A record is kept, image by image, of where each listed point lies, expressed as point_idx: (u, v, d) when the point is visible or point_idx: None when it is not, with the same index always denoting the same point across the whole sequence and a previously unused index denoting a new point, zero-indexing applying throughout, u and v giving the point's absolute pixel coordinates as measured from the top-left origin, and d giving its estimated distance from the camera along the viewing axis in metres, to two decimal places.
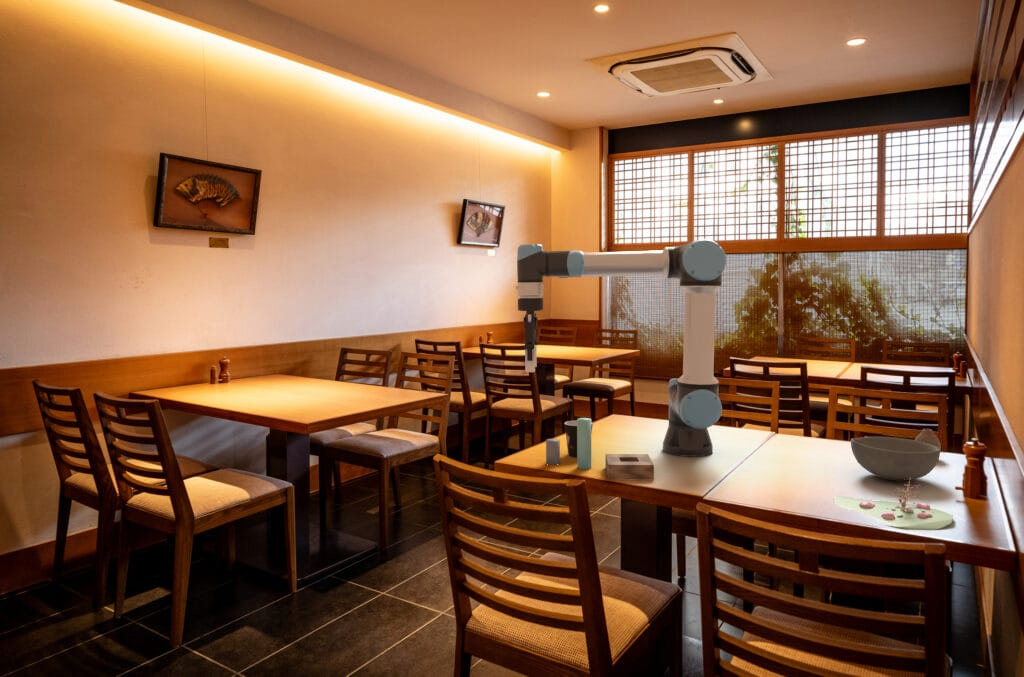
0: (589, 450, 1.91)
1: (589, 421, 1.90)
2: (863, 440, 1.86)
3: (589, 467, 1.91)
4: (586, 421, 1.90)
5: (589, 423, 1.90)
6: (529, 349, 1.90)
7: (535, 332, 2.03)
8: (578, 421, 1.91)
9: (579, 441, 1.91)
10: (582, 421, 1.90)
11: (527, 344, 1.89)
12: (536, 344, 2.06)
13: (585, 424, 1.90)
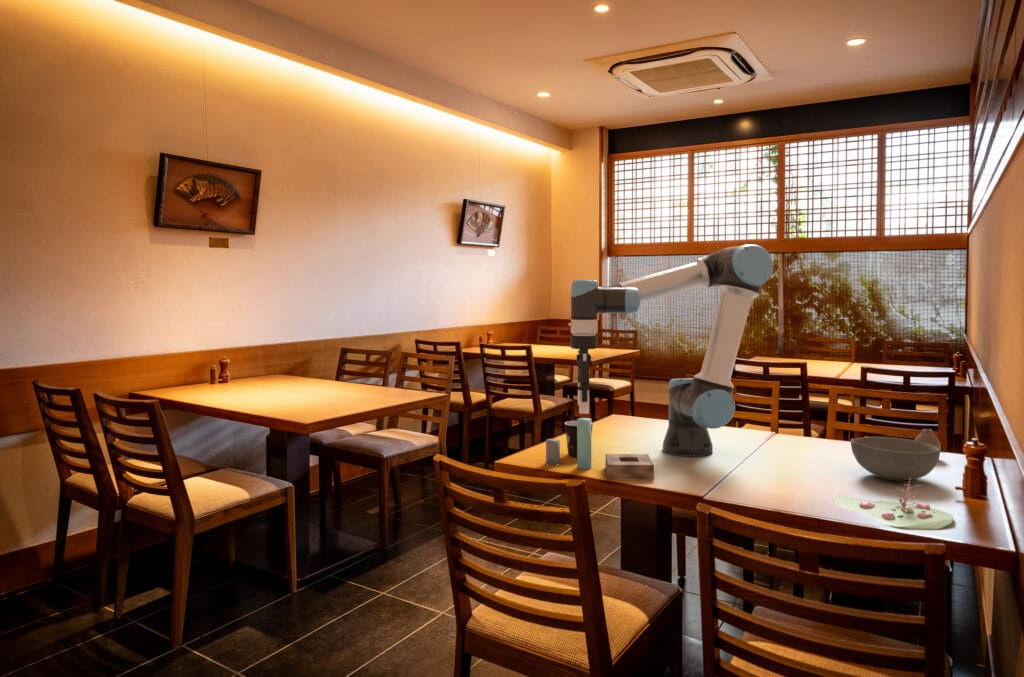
0: (589, 450, 1.91)
1: (589, 421, 1.90)
2: (863, 440, 1.86)
3: (589, 467, 1.91)
4: (586, 421, 1.90)
5: (589, 423, 1.90)
6: (584, 390, 1.83)
7: None
8: (578, 421, 1.91)
9: (579, 441, 1.91)
10: (582, 421, 1.90)
11: (582, 385, 1.81)
12: None
13: (585, 424, 1.90)
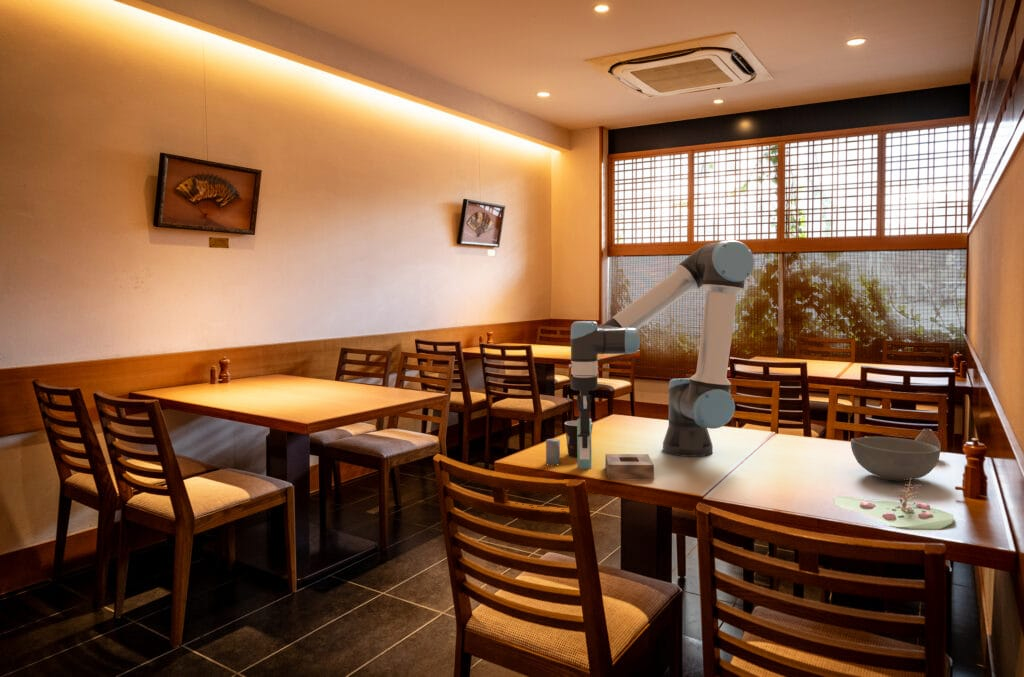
0: None
1: None
2: (863, 440, 1.86)
3: (589, 467, 1.91)
4: None
5: None
6: (584, 437, 1.88)
7: None
8: (578, 421, 1.91)
9: (579, 441, 1.91)
10: None
11: (583, 432, 1.87)
12: None
13: None
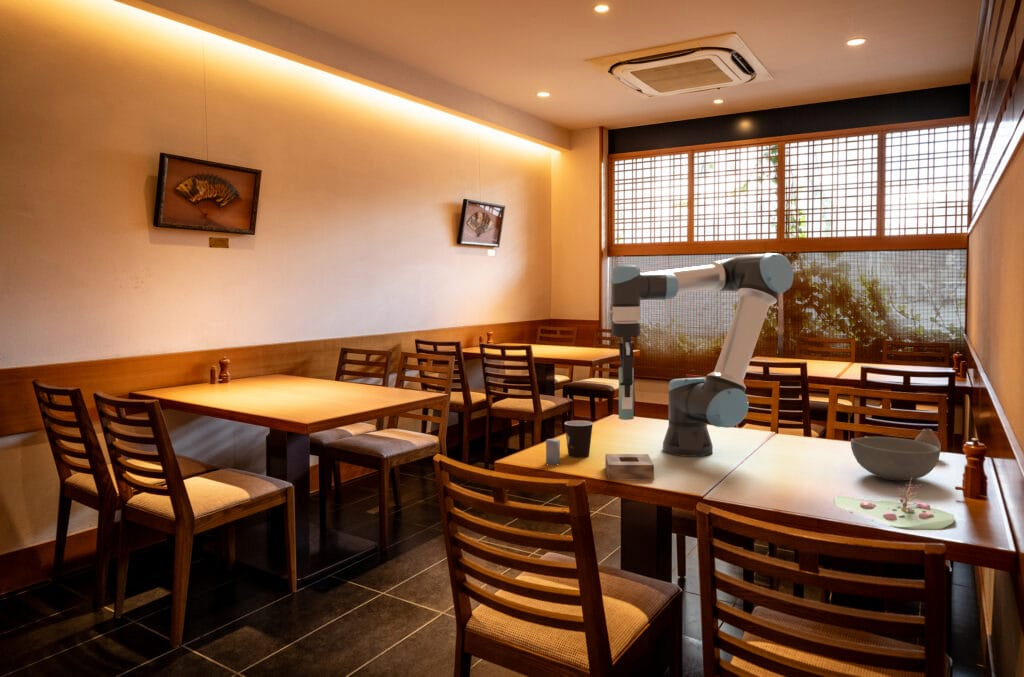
0: None
1: None
2: (863, 440, 1.86)
3: (631, 417, 1.84)
4: None
5: None
6: (627, 385, 1.81)
7: None
8: (620, 369, 1.84)
9: (621, 390, 1.84)
10: None
11: (625, 380, 1.79)
12: None
13: None
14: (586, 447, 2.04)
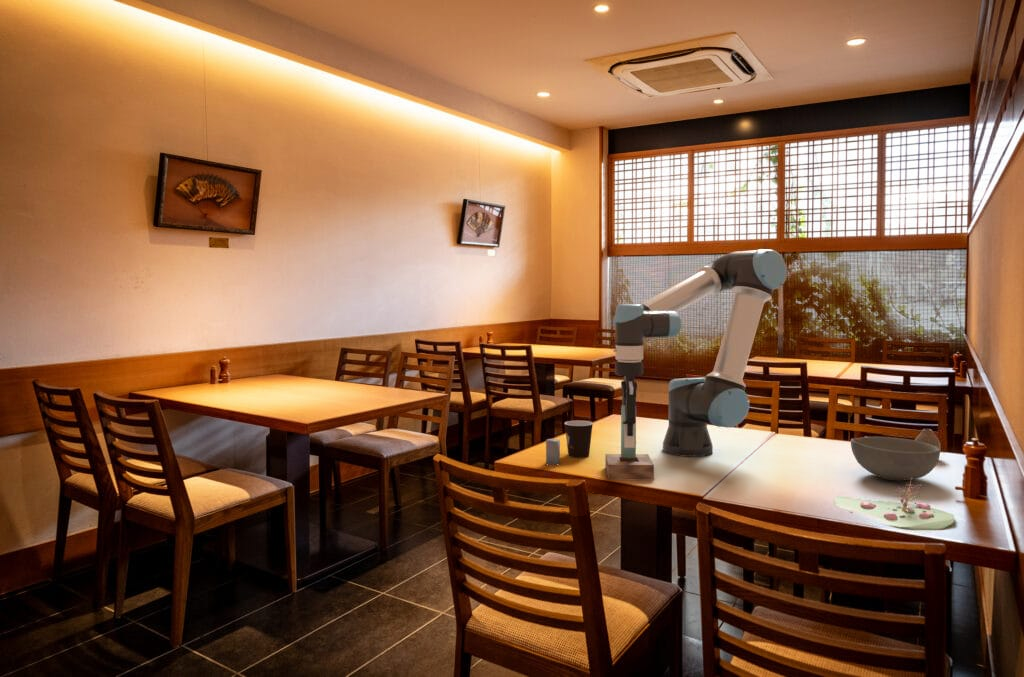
0: None
1: None
2: (863, 440, 1.86)
3: (634, 456, 1.84)
4: None
5: None
6: (630, 424, 1.81)
7: None
8: (622, 408, 1.84)
9: (623, 429, 1.84)
10: None
11: (629, 419, 1.79)
12: None
13: None
14: (586, 447, 2.04)
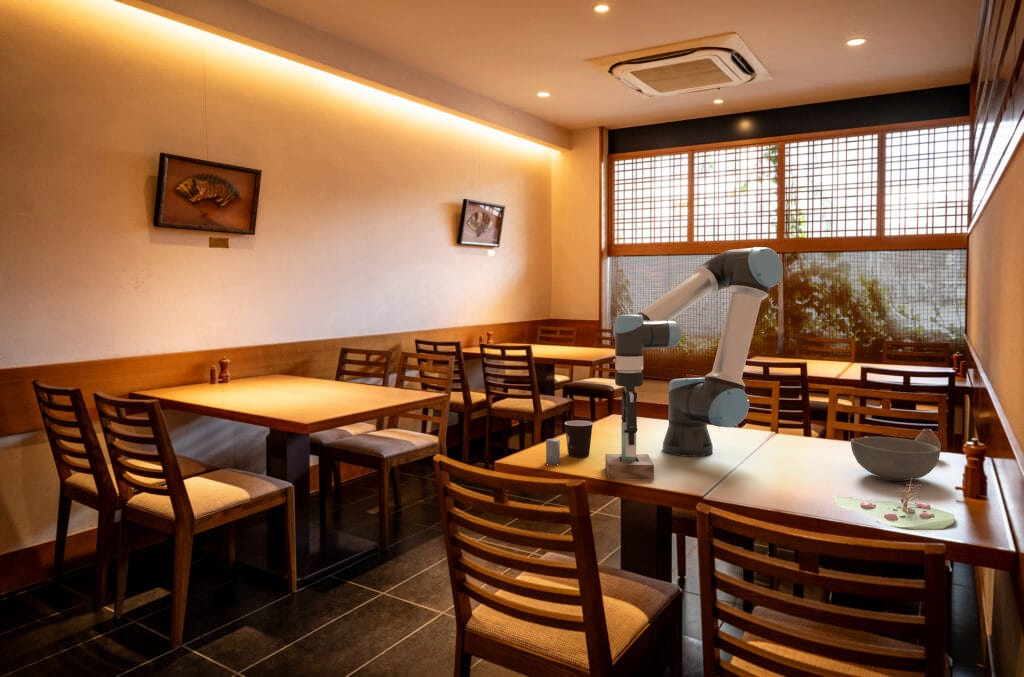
0: None
1: None
2: (863, 440, 1.86)
3: None
4: None
5: None
6: (631, 433, 1.78)
7: None
8: (623, 425, 1.84)
9: (624, 446, 1.84)
10: None
11: (630, 428, 1.77)
12: None
13: None
14: (586, 447, 2.04)
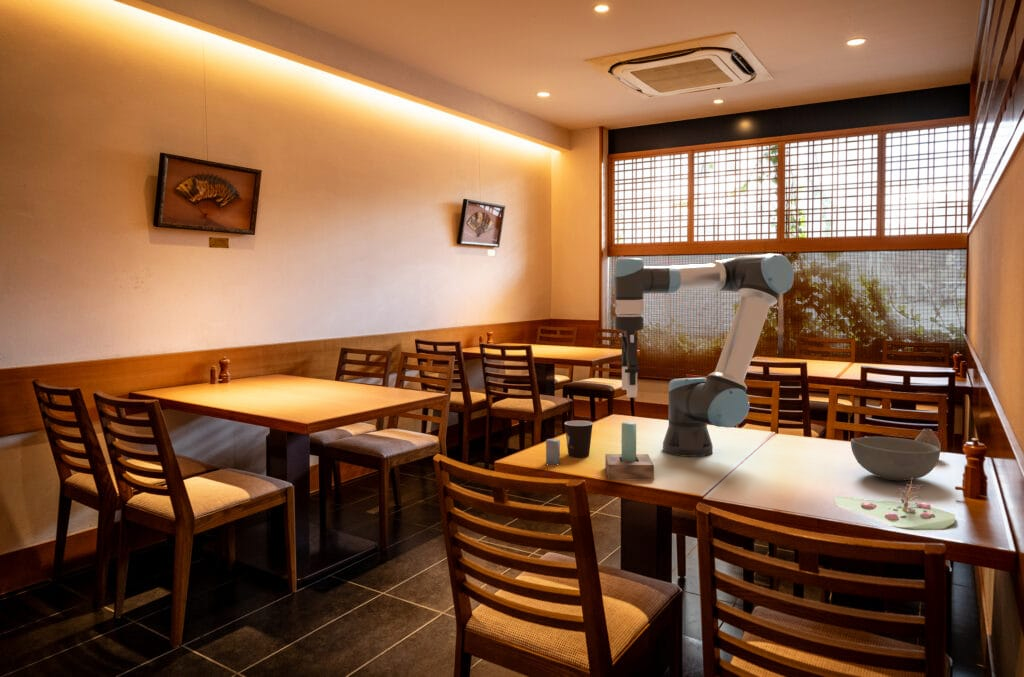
0: (634, 455, 1.84)
1: (634, 425, 1.84)
2: (863, 440, 1.86)
3: None
4: (631, 425, 1.83)
5: (634, 427, 1.84)
6: (632, 373, 1.76)
7: None
8: (623, 425, 1.84)
9: (624, 446, 1.84)
10: (627, 425, 1.83)
11: (631, 367, 1.74)
12: None
13: (630, 428, 1.83)
14: (586, 447, 2.04)
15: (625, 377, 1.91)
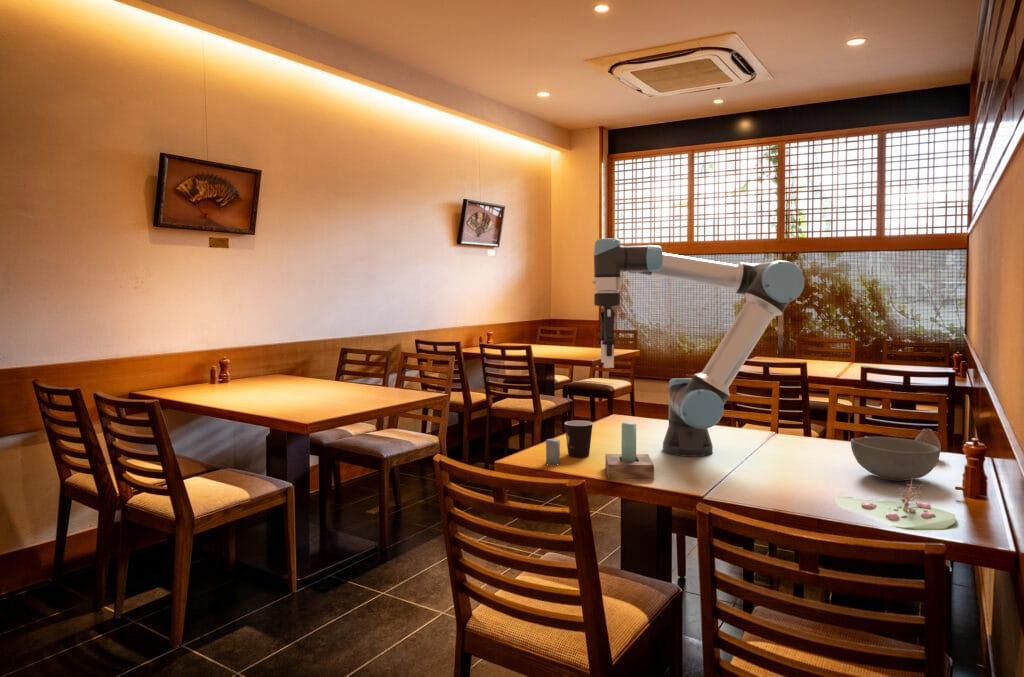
0: (634, 455, 1.84)
1: (634, 425, 1.84)
2: (863, 440, 1.86)
3: None
4: (631, 425, 1.83)
5: (634, 428, 1.84)
6: (609, 344, 1.88)
7: None
8: (623, 425, 1.84)
9: (624, 446, 1.84)
10: (627, 425, 1.83)
11: (607, 339, 1.87)
12: None
13: (630, 428, 1.83)
14: (586, 447, 2.04)
15: (604, 351, 2.03)
